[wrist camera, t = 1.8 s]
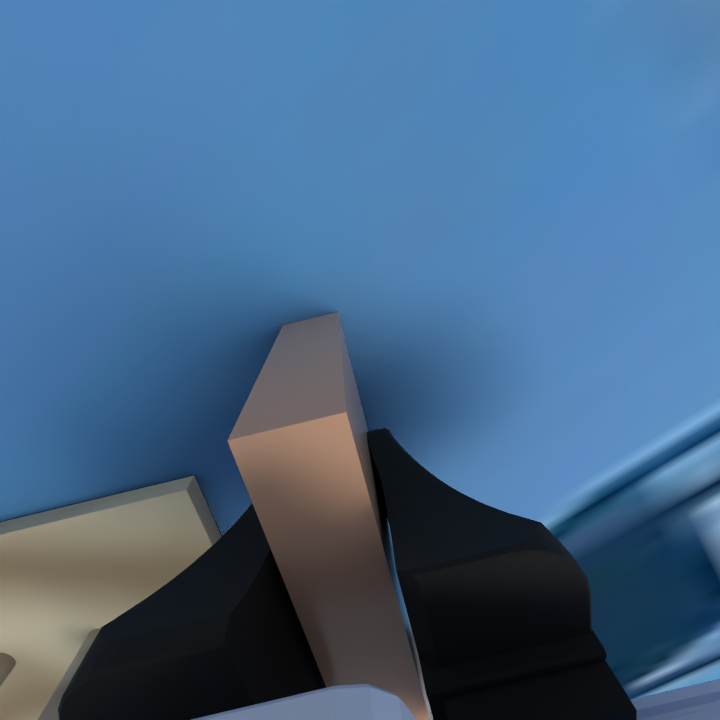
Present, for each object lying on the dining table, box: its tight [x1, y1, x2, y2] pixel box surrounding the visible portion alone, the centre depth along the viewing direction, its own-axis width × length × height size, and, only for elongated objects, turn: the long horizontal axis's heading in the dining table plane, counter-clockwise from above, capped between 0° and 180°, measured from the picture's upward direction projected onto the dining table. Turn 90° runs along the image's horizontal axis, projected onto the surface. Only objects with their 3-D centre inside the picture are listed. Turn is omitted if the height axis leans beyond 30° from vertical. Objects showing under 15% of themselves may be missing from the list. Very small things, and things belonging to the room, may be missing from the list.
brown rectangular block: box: [227, 312, 433, 720], centre depth 10 cm, size 9×2×7 cm, turn 13°
